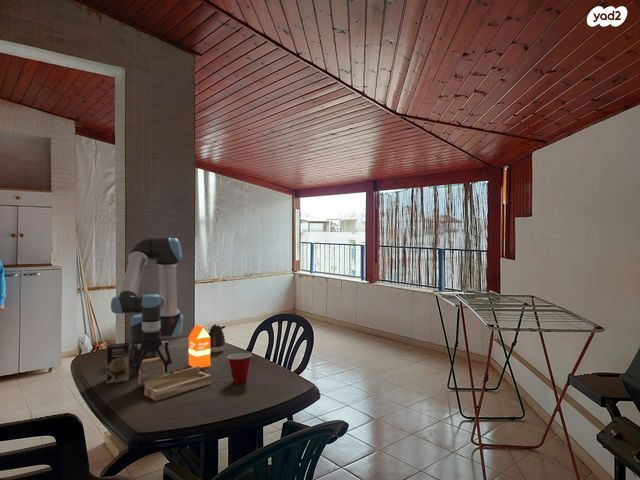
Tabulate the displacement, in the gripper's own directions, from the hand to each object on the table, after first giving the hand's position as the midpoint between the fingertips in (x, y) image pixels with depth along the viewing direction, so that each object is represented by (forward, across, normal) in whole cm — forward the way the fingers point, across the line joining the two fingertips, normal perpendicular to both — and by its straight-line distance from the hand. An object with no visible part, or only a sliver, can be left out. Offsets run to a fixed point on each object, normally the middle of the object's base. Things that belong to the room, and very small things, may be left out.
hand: (151, 381), depth 187 cm
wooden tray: (+2, +10, -9) cm, 14 cm away
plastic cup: (+2, +36, -10) cm, 38 cm away
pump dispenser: (+3, +36, +44) cm, 57 cm away
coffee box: (+2, -14, +14) cm, 20 cm away
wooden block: (+1, 0, 0) cm, 1 cm away
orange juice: (+3, +24, +22) cm, 32 cm away
